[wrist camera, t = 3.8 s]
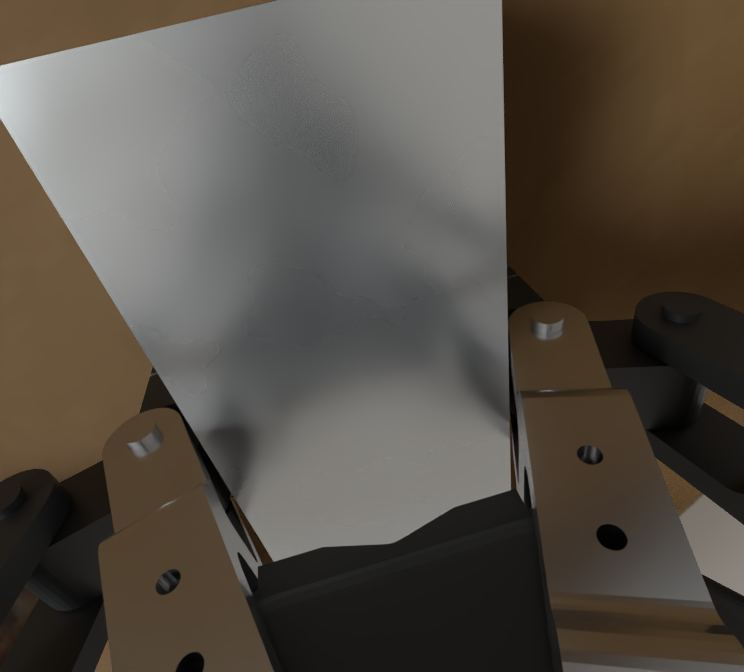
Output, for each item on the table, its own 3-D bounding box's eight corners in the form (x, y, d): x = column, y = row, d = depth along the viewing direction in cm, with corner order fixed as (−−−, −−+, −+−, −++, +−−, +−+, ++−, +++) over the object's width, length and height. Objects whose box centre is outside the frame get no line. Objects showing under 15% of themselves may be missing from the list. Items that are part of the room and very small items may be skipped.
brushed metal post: (105, 45, 8) (-52, 77, 4) (389, -22, 8) (521, -57, 4) (338, 560, 19) (362, 717, 15) (461, 523, 19) (519, 666, 15)
